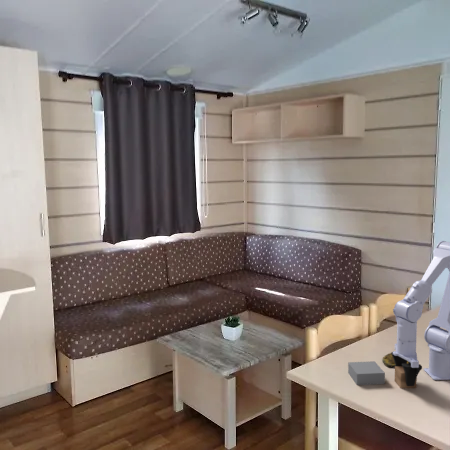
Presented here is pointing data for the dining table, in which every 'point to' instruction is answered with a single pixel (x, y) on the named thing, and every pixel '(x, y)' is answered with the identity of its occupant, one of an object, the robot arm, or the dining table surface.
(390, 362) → the seal
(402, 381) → the walnut cube
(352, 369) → the grey block
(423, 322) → the dining table surface
